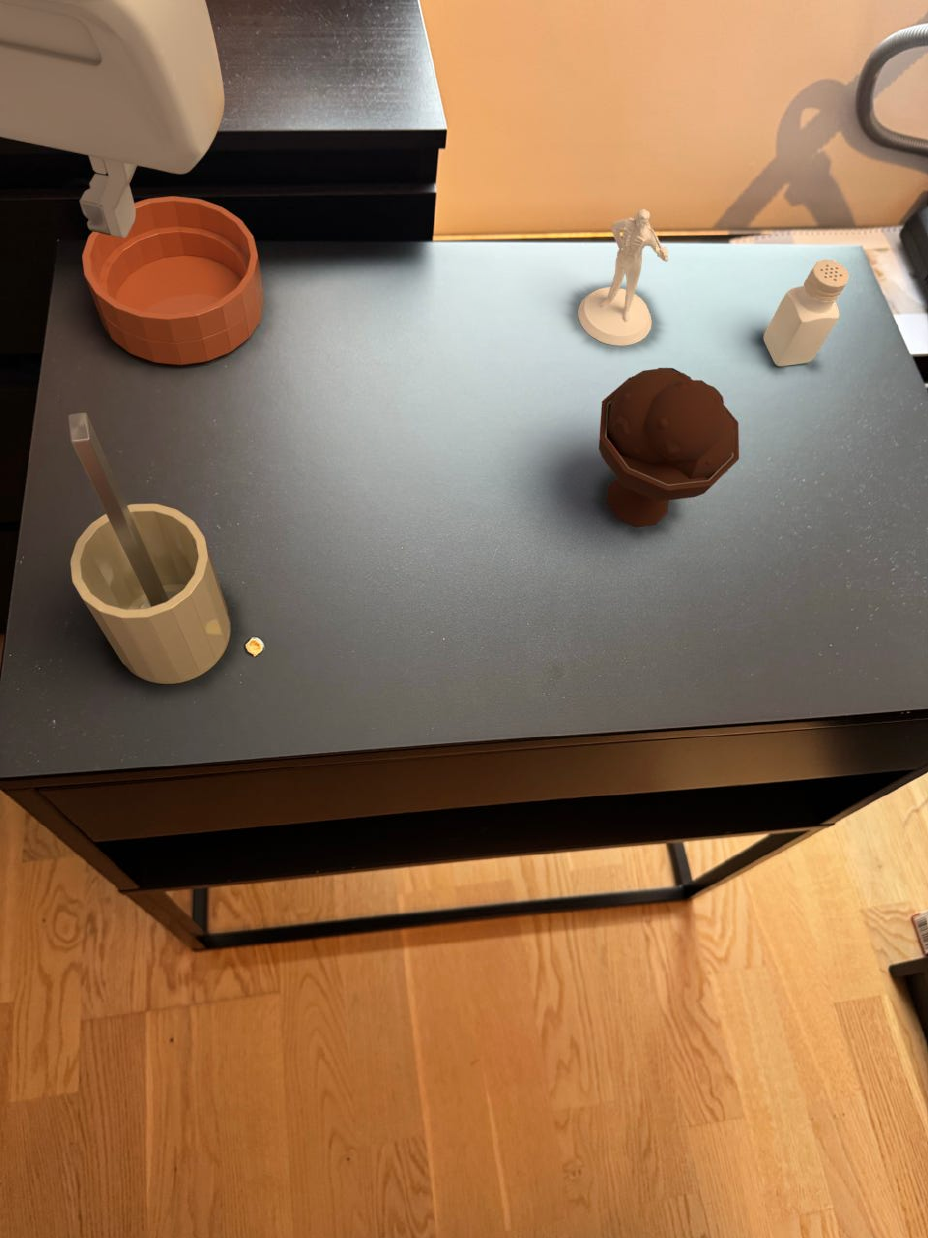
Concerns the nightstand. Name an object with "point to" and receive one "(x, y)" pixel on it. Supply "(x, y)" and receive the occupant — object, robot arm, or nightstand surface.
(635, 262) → the figurine
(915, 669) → the nightstand surface
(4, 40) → the robot arm
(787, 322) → the salt shaker
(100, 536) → the crock
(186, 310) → the bowl
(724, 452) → the ice cream bowl
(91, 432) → the metal stirring rod
